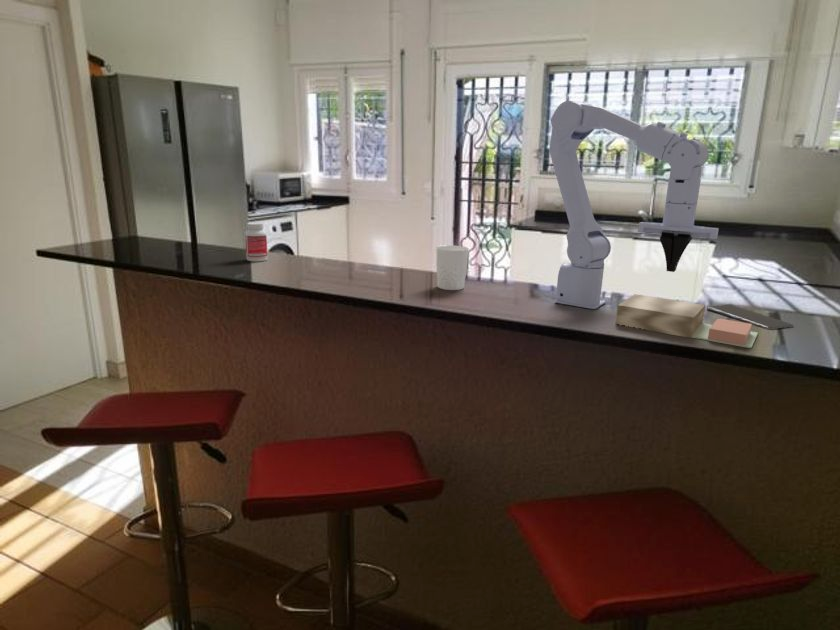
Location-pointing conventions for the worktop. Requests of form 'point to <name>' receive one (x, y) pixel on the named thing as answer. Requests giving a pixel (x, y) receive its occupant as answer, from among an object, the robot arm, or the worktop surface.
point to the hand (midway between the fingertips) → (671, 270)
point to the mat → (703, 334)
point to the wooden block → (660, 315)
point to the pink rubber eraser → (730, 331)
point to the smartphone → (749, 316)
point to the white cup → (451, 267)
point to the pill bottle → (256, 242)
